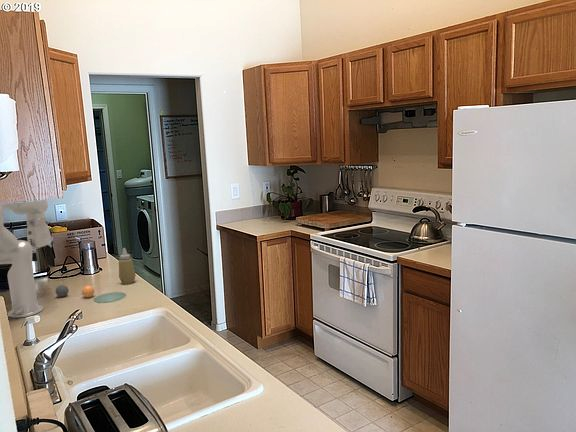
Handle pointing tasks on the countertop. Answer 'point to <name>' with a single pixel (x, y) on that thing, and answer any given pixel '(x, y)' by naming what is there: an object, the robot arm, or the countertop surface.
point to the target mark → (109, 297)
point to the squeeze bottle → (126, 268)
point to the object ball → (88, 291)
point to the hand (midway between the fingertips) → (41, 258)
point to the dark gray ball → (62, 290)
